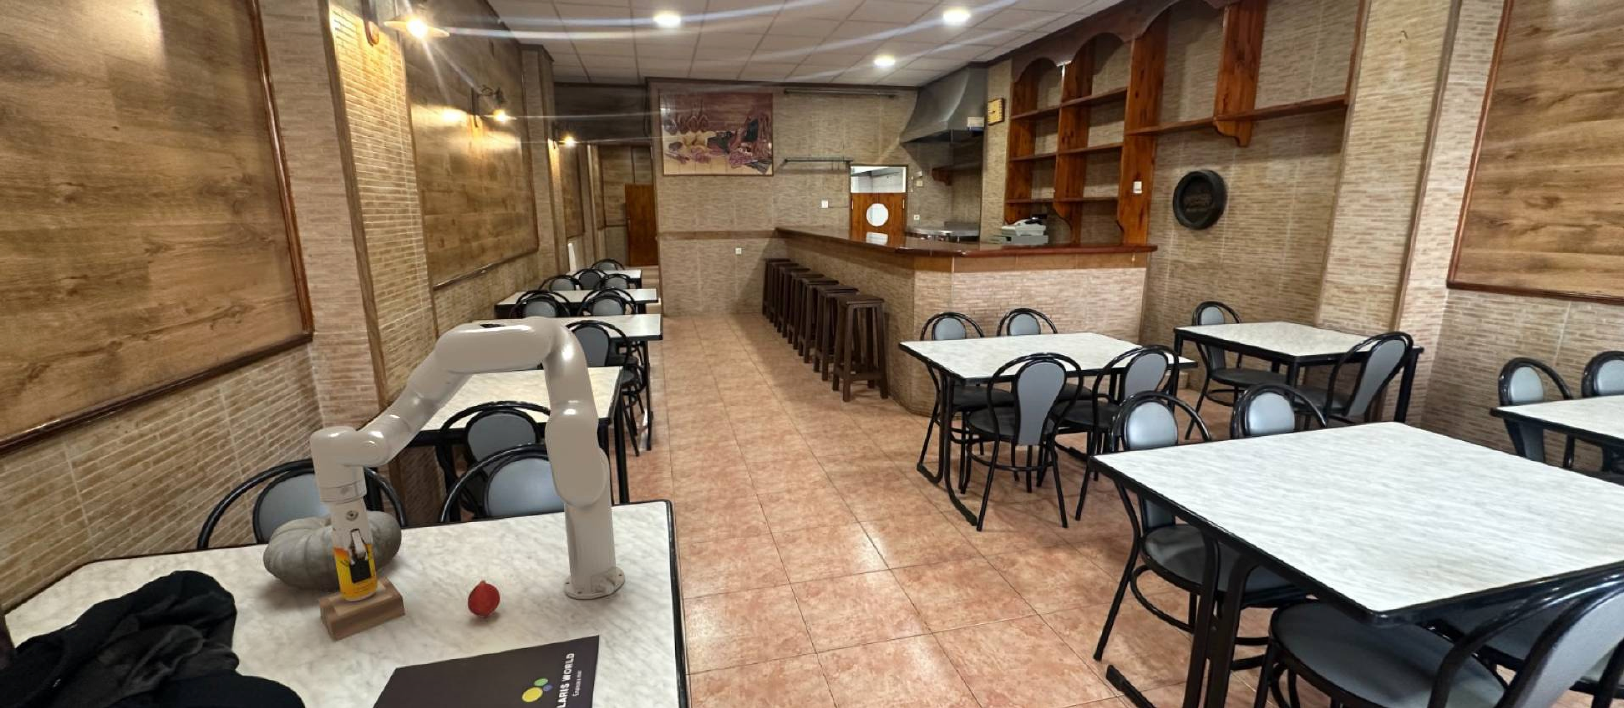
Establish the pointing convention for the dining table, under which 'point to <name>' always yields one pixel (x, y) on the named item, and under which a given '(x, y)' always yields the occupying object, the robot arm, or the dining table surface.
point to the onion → (483, 599)
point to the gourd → (323, 550)
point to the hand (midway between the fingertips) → (357, 573)
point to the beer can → (342, 563)
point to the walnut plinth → (361, 610)
